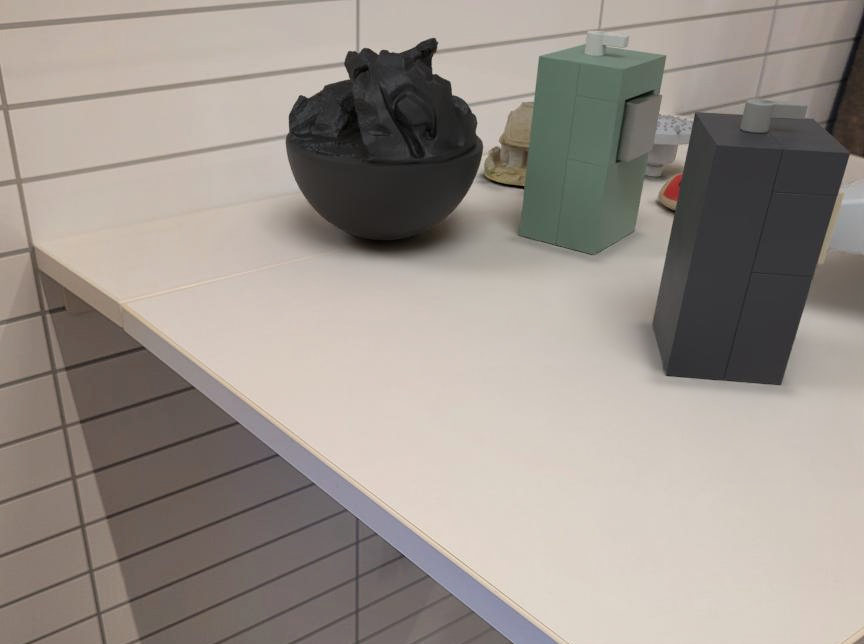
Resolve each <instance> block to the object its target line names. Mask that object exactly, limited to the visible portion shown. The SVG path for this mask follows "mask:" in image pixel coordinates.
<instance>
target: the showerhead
mask: <svg viewBox="0 0 864 644" xmlns="http://www.w3.org/2000/svg"><path fill="white" fill-rule="evenodd" d="M692 125H693V120H688V118H686V117H685V118H681V117H680V116H674V115H671V114H668V115H666V114H663V115H662V114H661V113H659V116H658V122H657V127H656V133H655V138H654V144H653V149H652V150H651V151H649V155H648V160H647V166H646V171H645V176H648V177H655V178H656V177H657V178H658V177H661V176H662V173H663V169H664V165H669V164H672V163H673V162H675V161H676V157H677V154H678V148H679V146H680V145H681V146H682V145H689V140H690V135H691V130H692Z"/></svg>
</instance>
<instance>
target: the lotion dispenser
mask: <svg viewBox="0 0 864 644" xmlns="http://www.w3.org/2000/svg"><path fill="white" fill-rule="evenodd" d="M807 111H808V104H807V103H805V102H802V101H801V102H800V101H782V100H770V99H765V98H749V99H746V100H745V104H744V107H743V114H737V113H735V114H734V113H721V112H701V111H695V112H694V116H693V120H692V122H693V125H692V130H691V135H690V140H689V144H687V151H686V155H685V161H684V165H683V171H682V174H683V175H682V180H681V185H680V189H679V194H678V199H677V204H676V209H675V211H674V213H673V214H674V215H673V219H672V224H671V229H670V235H669V239H668V244H667V249H666V254H665V259H664V264H663V268H662V273H661V278H660V279H661V280H660V283H659V288H658V294H657V298H656V303H655V308H654V313H653V318H652V322H651V325H652V328H653V332H654V335H655V340H656V343H657V347H658V350H659V354H660V357H661V361H662V365H663V369H664V373H665V376H669V377H682V378H693V379H704V380H705V379H706V380H718V381H720V380H721V381H731V382H742V383H743V382H744V383H756V384H757V383H758V384H770V385H782V383H783V380H784V376H785V373H786V371H787V366H788V363H789V360H790V356H791V353H792V350H793V347H794V344H795V340H796V337H797V333H798V330H799V326H800V323H801V320H802V317H803V313H804V310H805V306H806V303H807V300H808V296H809V293H810V290H811V286H812V283H813V280H814V276H815V274H816V273H815V272H816V270H817V267H818V264H817V263H818V259H819V256H820V253H821V249H822V246H823V243H824V239H825V236H826V233H827V229H828V226H829V222H830V219H831V216H832V212H833V209H834V206H835V202H836V199H837V196H838V193H839V189H840V186H841V185H842V184H843V183H842V182H843V179H844V175H845V171H846V170H847V166H848V163H849V160H850V156H851V152H850V151H849V149H847V148H846V147H845V146H844V145H842V143H840V142H839V141H838V140H837V138H835V137H834V136H833V135H832V134H830V132H828V131H827V130H826V129H825V128H824V127H823V126H822V125H821V124H820V123H819V122H817V121H816V120H815V119H814V118H808V117H807V118H806V113H807Z"/></svg>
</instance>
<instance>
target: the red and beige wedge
mask: <svg viewBox="0 0 864 644" xmlns="http://www.w3.org/2000/svg"><path fill="white" fill-rule="evenodd" d="M682 175H683V173H677V174H674V175H673V176H672V177H670V178H668V179H667V180H666V181H665V182H664V183H663V185H662V186H661V188H660V190H659V191H658V195H657V199H658V201H659V203H661V205H663V206H664V207H665V208H667V209H670V210H671V211H674V212H675V209H676V204H677V199H678V194H679V189H680V185H681V180H682Z"/></svg>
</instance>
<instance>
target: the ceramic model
mask: <svg viewBox="0 0 864 644" xmlns="http://www.w3.org/2000/svg"><path fill="white" fill-rule="evenodd" d="M533 106H534V101H522V102H521V104H520V105H519V106H518V107H517V108H516V109H514V110H510V112H509V114H508V115H507V120H506V124H505V126H504V130H503V132H502V134H501V135H500V136H499V138H498V143H499V144H500V146H497V145H495V146H494V147H492V148H490V149H489V150H488V155H487V156H486V158H485V159H484V163H483V167H484V176H485V177H486V178H487V179H489V180H492V181H494V182H497V183H501V184H505V185H513V186H522V187H525V178H526V169H527V160H528V151H529V142H530V133H531V124H532V115H533Z"/></svg>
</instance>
